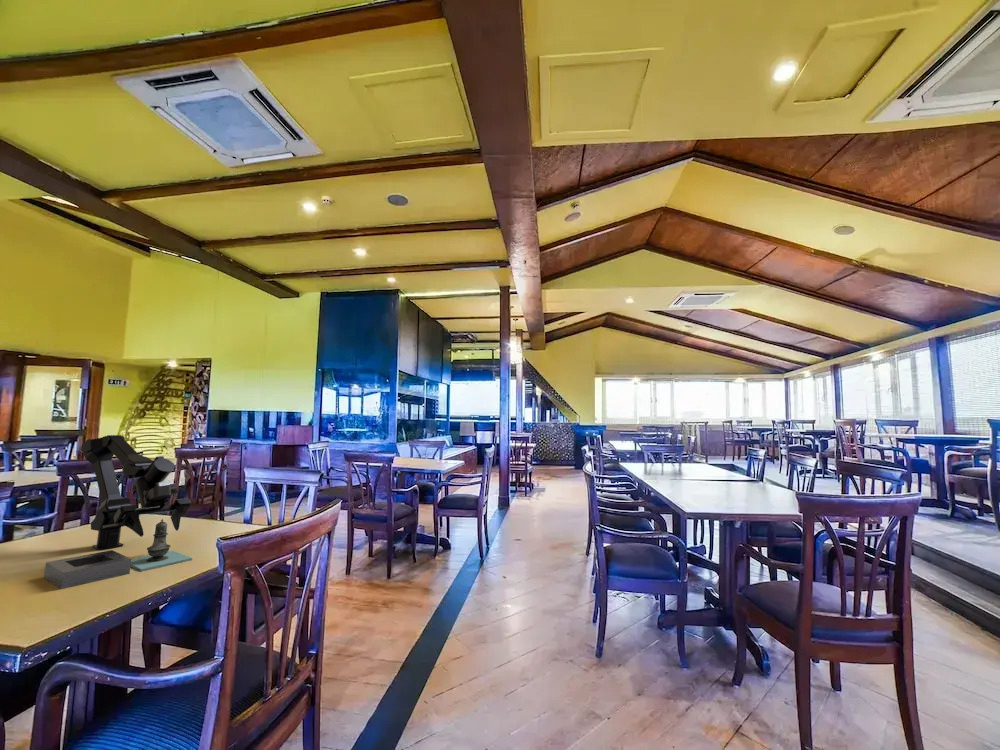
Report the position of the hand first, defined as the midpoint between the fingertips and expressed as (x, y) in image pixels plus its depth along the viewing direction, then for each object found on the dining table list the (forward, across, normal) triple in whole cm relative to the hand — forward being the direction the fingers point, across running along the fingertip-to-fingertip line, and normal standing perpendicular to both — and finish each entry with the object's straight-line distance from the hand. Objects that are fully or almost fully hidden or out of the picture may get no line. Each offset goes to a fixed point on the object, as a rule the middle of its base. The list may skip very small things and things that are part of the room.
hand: (160, 532), depth 133 cm
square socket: (+6, -16, +6) cm, 18 cm away
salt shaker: (+6, 0, +5) cm, 8 cm away
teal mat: (+6, 0, +6) cm, 8 cm away
